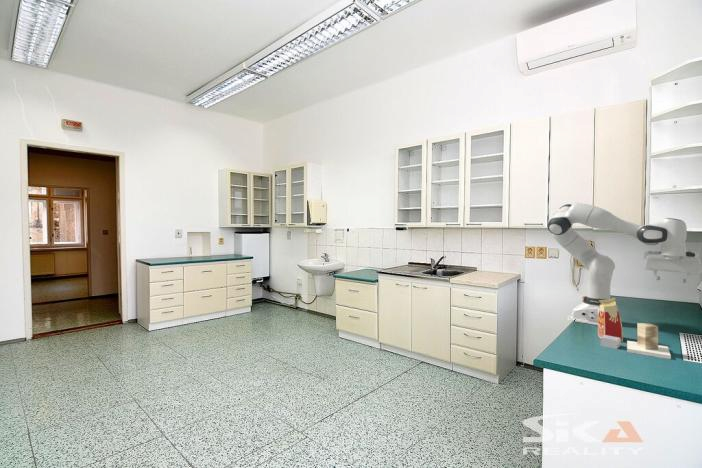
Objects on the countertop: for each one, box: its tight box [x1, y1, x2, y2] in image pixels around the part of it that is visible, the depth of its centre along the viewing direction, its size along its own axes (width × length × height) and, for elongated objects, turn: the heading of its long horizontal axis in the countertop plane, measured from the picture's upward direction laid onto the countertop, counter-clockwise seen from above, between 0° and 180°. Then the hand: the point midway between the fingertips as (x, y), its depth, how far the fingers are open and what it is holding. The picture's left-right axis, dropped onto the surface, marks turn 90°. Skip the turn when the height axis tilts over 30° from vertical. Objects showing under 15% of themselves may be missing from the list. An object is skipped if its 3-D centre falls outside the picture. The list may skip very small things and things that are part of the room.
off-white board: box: [626, 340, 672, 360], centre depth 153 cm, size 14×14×2 cm
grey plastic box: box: [600, 335, 621, 350], centre depth 160 cm, size 6×6×4 cm
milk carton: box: [597, 297, 624, 342], centre depth 171 cm, size 9×9×20 cm
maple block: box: [636, 322, 659, 350], centre depth 153 cm, size 5×5×10 cm
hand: (671, 281), depth 166 cm, fingers open, 8 cm apart
